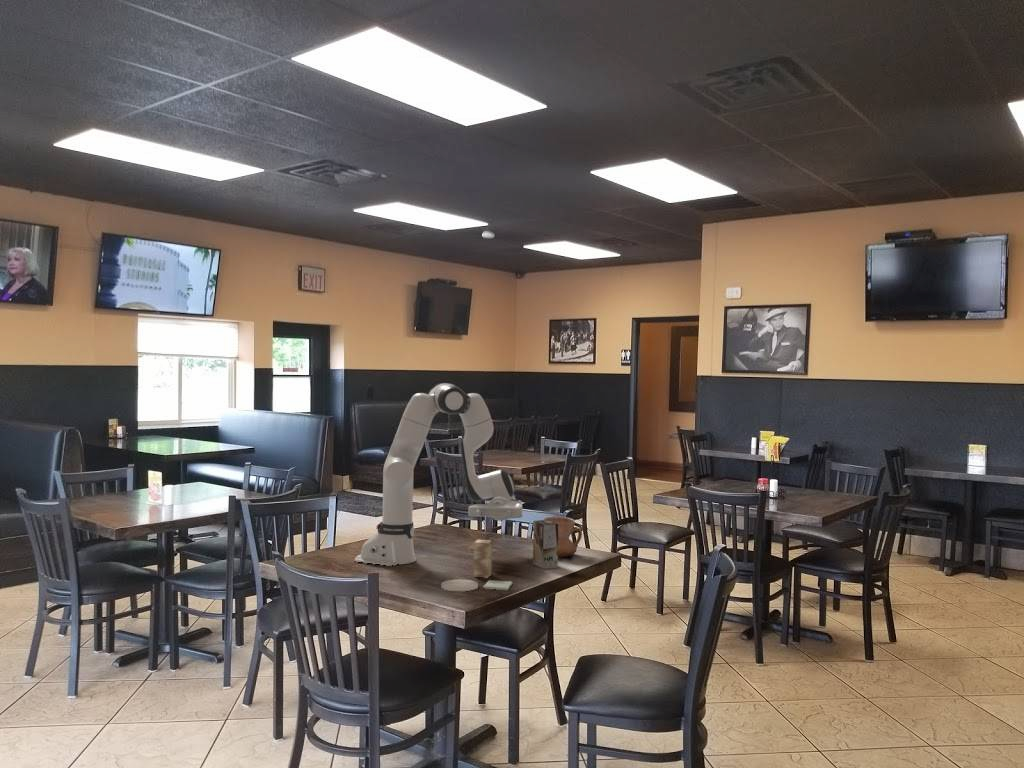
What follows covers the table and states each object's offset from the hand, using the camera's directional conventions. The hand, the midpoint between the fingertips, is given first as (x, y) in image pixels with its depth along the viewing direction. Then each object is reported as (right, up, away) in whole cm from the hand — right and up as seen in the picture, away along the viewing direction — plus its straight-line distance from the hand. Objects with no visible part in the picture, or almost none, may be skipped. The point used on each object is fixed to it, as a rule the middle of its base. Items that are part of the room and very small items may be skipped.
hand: (491, 514), depth 275 cm
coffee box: (+20, -20, +4) cm, 28 cm away
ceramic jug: (+26, -20, +21) cm, 39 cm away
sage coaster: (+3, -19, -25) cm, 32 cm away
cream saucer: (-10, -19, -27) cm, 34 cm away
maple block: (-3, -19, -12) cm, 23 cm away
